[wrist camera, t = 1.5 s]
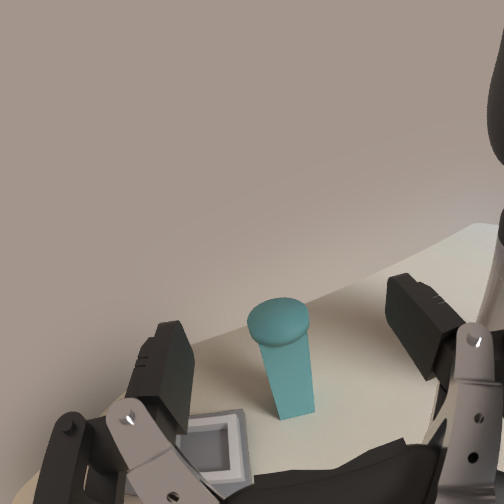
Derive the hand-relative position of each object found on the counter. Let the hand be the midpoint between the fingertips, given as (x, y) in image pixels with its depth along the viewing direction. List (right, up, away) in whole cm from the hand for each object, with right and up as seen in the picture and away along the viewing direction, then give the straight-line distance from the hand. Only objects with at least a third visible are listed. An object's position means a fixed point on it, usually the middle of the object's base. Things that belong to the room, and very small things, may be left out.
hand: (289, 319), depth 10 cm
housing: (-9, -21, +14) cm, 27 cm away
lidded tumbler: (+4, -15, +19) cm, 25 cm away
